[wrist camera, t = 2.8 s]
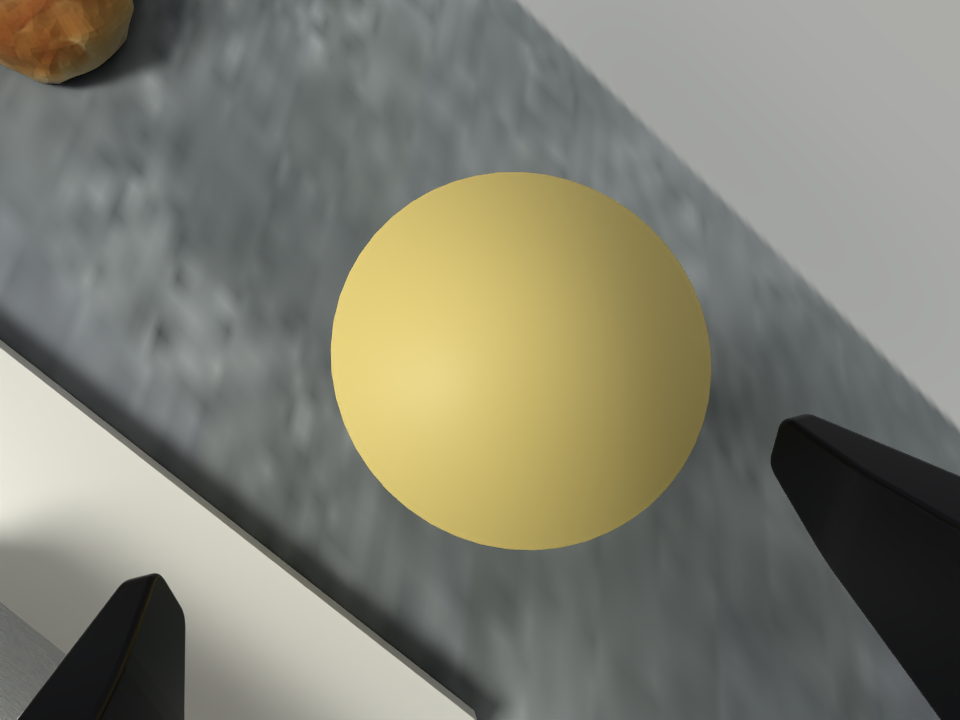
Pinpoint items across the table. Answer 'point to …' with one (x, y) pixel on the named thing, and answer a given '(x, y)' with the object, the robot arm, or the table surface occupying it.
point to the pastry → (61, 36)
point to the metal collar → (22, 663)
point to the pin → (521, 361)
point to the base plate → (179, 573)
